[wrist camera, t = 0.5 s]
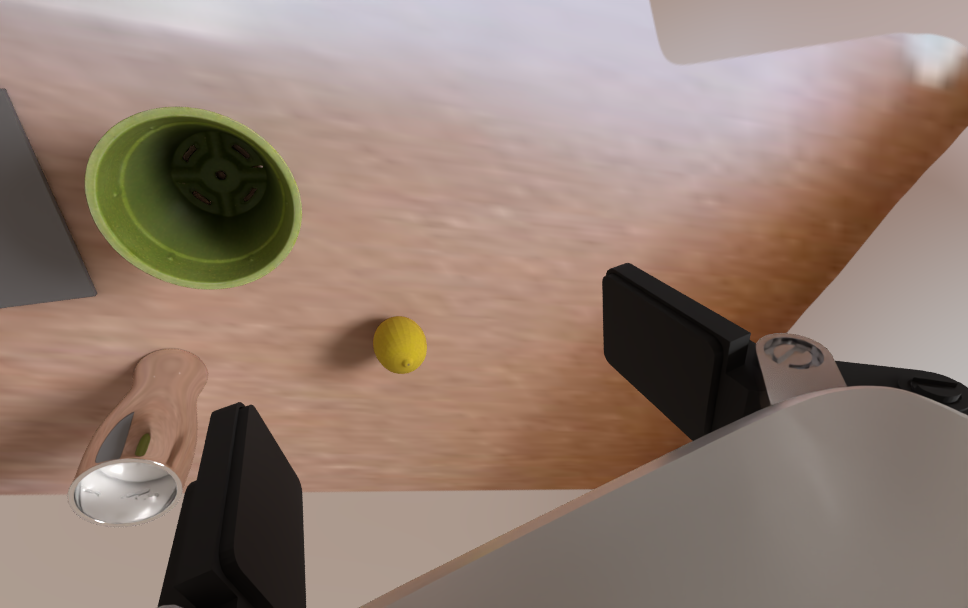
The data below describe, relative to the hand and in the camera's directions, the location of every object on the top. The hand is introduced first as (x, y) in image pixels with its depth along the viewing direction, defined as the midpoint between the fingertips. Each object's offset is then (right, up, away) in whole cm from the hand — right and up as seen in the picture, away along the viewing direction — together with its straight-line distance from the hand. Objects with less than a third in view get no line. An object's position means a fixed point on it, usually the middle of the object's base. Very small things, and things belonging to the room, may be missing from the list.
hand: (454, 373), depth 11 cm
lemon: (-10, -1, +39) cm, 40 cm away
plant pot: (-22, +13, +26) cm, 37 cm away
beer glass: (-30, -5, +32) cm, 45 cm away
